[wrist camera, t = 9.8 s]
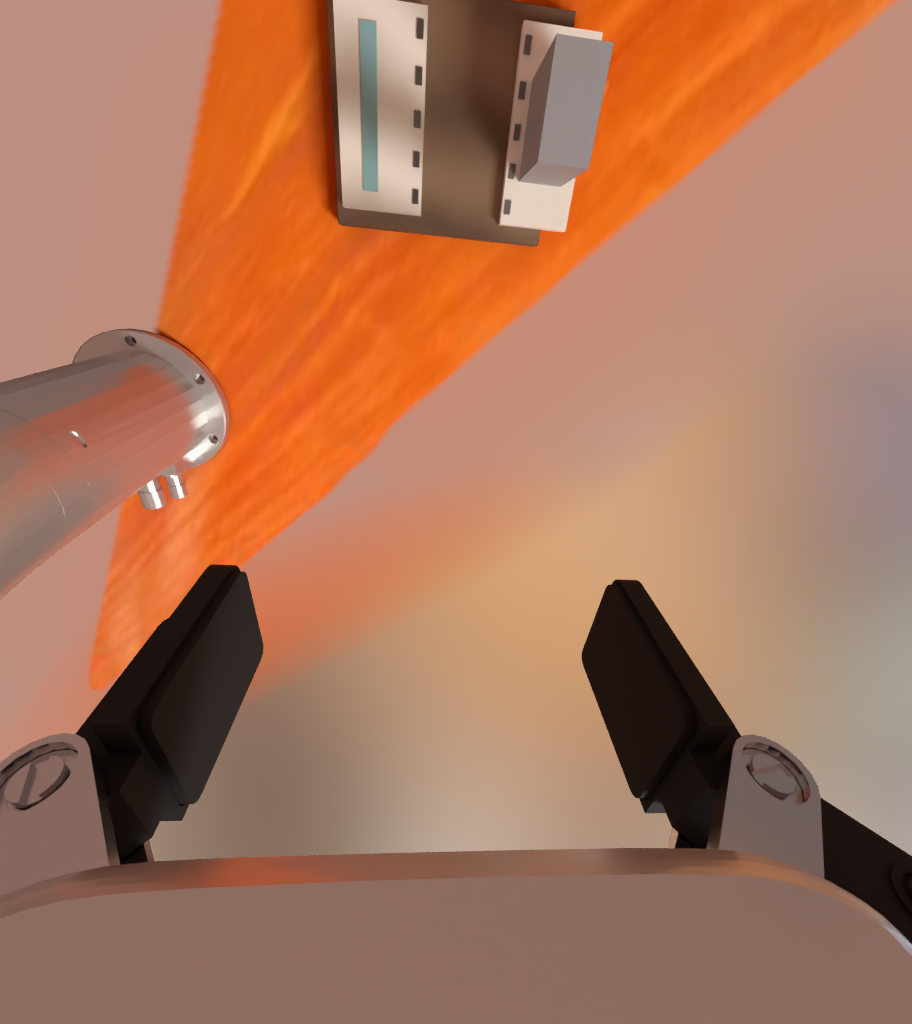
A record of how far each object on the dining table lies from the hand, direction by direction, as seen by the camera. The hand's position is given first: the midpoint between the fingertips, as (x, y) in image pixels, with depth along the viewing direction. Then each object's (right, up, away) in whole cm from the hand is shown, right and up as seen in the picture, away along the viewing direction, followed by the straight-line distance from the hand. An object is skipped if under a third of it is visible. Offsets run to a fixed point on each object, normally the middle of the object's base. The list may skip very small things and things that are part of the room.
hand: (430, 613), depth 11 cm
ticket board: (0, +29, +18) cm, 34 cm away
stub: (+7, +28, +17) cm, 34 cm away
